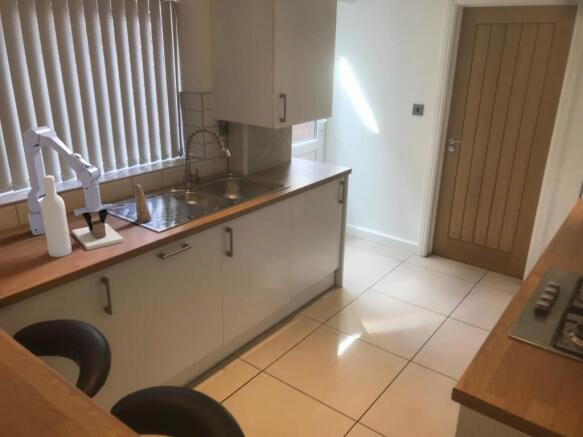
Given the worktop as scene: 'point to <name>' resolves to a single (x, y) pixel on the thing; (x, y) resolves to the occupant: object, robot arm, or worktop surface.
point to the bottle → (55, 220)
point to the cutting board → (93, 242)
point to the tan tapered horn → (141, 205)
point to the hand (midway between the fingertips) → (96, 228)
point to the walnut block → (98, 228)
